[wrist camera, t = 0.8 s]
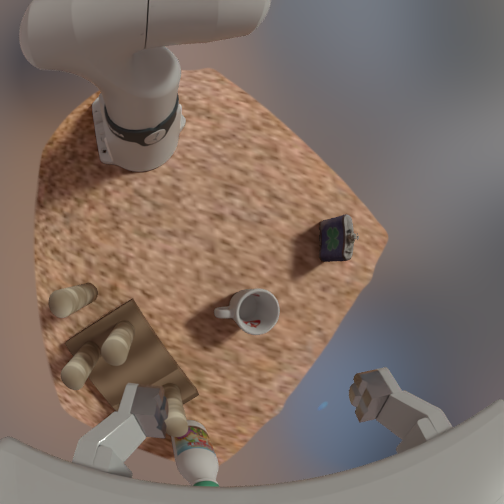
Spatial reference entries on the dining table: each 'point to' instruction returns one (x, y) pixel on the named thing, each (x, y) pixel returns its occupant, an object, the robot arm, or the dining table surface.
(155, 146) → the robot arm
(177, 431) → the stool
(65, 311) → the loose leg
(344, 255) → the flask
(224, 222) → the dining table surface
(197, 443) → the milk bottle
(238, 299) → the cup
